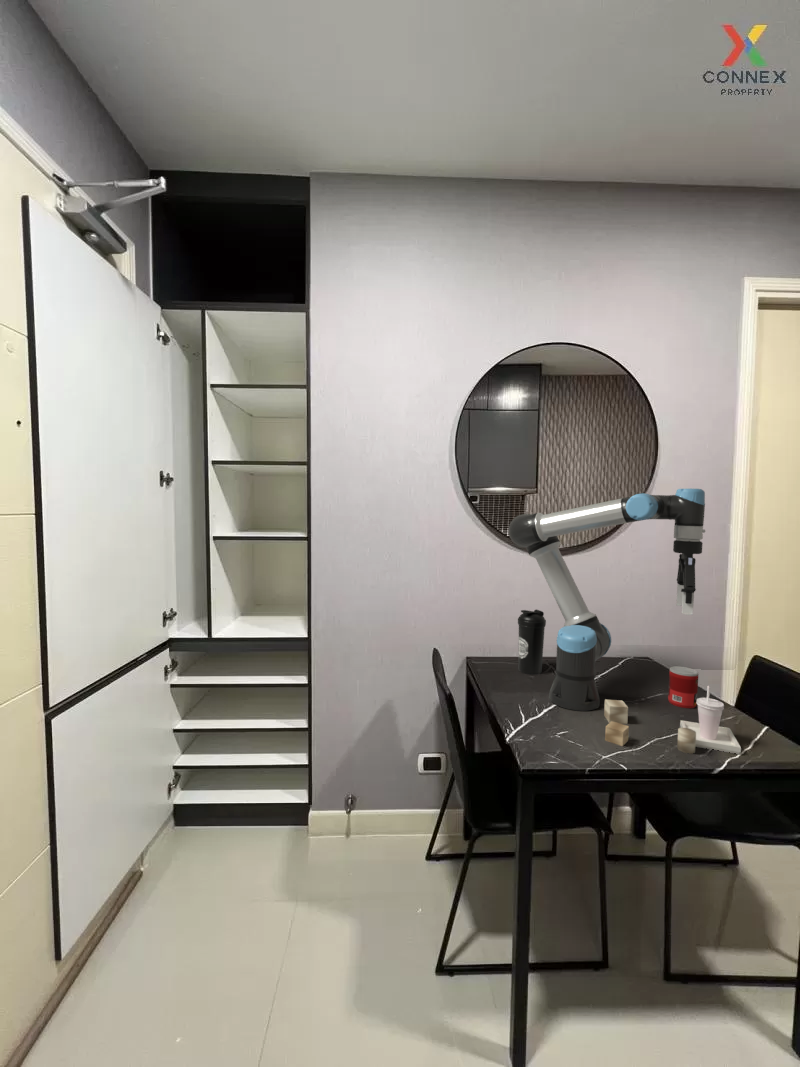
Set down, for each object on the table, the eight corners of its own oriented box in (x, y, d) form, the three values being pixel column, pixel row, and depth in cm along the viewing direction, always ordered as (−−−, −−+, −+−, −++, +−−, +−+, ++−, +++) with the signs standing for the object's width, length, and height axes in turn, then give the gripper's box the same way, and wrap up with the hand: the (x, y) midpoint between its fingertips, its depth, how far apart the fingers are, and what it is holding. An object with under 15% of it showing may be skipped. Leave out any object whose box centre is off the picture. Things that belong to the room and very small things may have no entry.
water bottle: (511, 667, 189) (513, 608, 188) (534, 665, 192) (536, 607, 191) (525, 676, 179) (527, 614, 178) (549, 674, 182) (551, 612, 181)
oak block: (604, 740, 131) (605, 726, 131) (611, 735, 134) (611, 721, 134) (622, 746, 128) (623, 731, 128) (628, 740, 131) (628, 726, 131)
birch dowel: (678, 751, 126) (679, 732, 125) (676, 744, 129) (677, 726, 129) (696, 755, 124) (697, 735, 124) (693, 748, 128) (694, 729, 128)
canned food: (700, 709, 152) (702, 675, 152) (672, 707, 154) (674, 672, 153) (691, 700, 160) (693, 667, 159) (664, 698, 161) (666, 665, 161)
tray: (686, 744, 129) (686, 738, 129) (679, 726, 140) (680, 720, 140) (740, 754, 125) (740, 747, 125) (729, 734, 136) (729, 728, 136)
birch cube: (609, 723, 142) (609, 706, 142) (604, 715, 147) (604, 699, 147) (627, 724, 141) (628, 707, 141) (621, 716, 146) (622, 700, 146)
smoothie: (696, 729, 137) (699, 680, 137) (723, 736, 133) (726, 686, 133) (692, 737, 133) (695, 686, 132) (720, 745, 128) (723, 692, 128)
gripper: (710, 543, 135) (705, 619, 136) (696, 538, 157) (692, 603, 159) (678, 542, 138) (674, 616, 139) (669, 537, 160) (666, 601, 162)
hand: (684, 610), depth 149 cm, fingers open, 13 cm apart
